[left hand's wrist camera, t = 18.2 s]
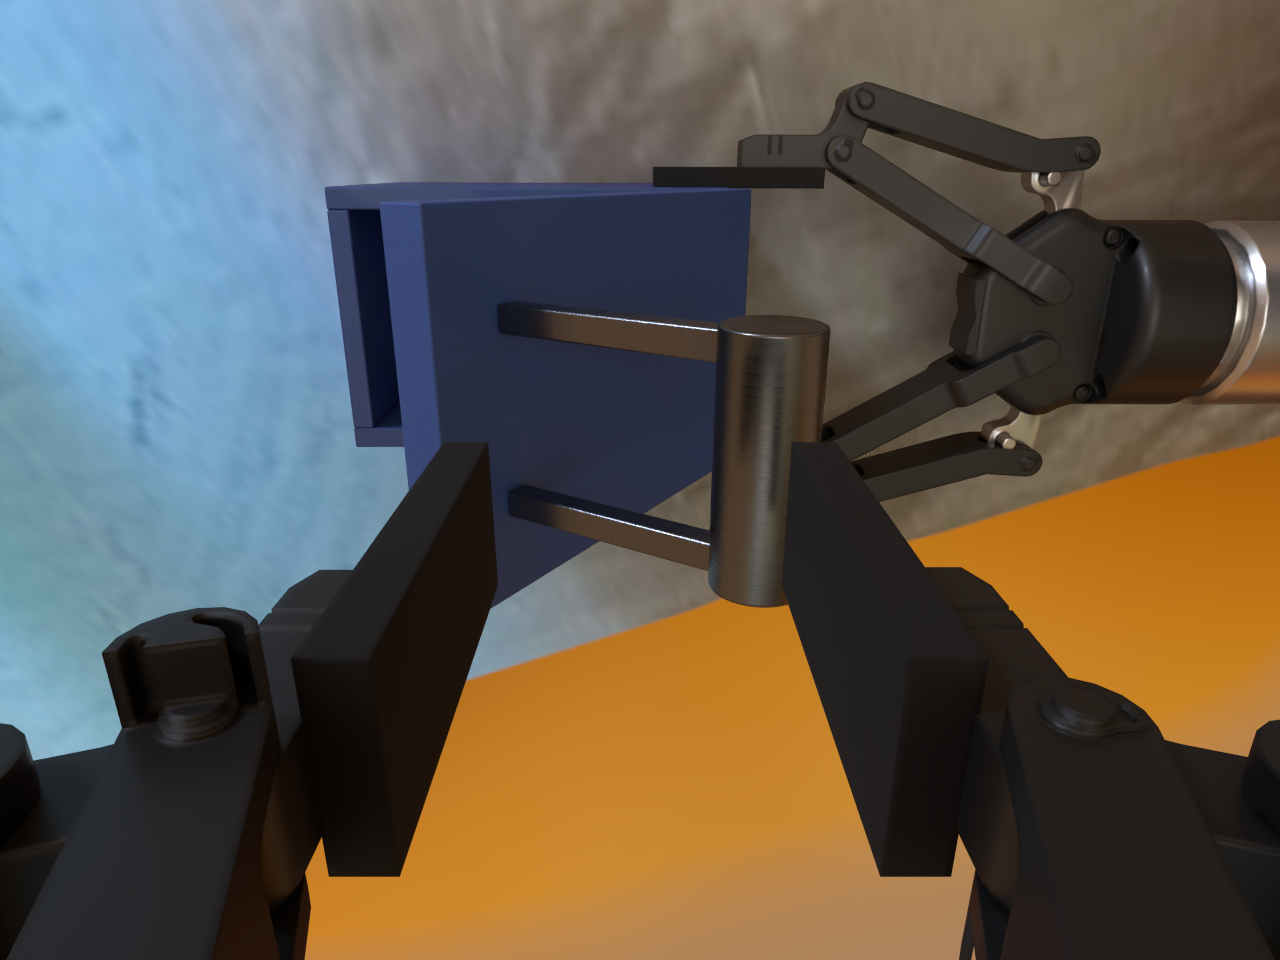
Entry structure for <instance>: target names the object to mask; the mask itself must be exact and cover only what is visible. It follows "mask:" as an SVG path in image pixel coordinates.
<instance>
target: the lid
mask: <svg viewBox="0 0 1280 960" xmlns="http://www.w3.org/2000/svg"><path fill="white" fill-rule="evenodd" d="M750 206H751V189H723V188H721V189H695V190H669V191H643V192H617V193H591V194H565V195H539V196H513V197H487V198H461V199H435V200H409V201H383V202H381V203H380V213H381V223H382V233H383V242H384V252H385V262H386V272H387V281H388V291H389V301H390V311H391V320H392V330H393V340H394V349H395V359H396V369H397V379H398V388H399V398H400V408H401V418H402V427H403V437H404V447H405V456H406V466H407V476H408V486H409V490H410V489H411V488H412V486H413V485H414V483H415V482H416V481H417V479H418V478H419V476H420V475H421V473H422V472H423V471H424V469H425V468H426V466H427V465H428V464H429V462H430V461H431V459H432V458H433V457H434V455H435V454H436V452H437V451H438V450H439V448H440V447H441V445H442V444H443V442H488V445H489V460H490V474H491V489H492V503H493V518H494V532H495V546H496V561H497V575H498V587H497V590H496V593H495V596H494V599H493V602H492V605H491V608H492V607H494V606H495V605H497V604H499V603H500V602H502V601H504V600H505V599H507V598H508V597H510V596H512V595H513V594H515V593H516V592H518V591H520V590H521V589H523V588H524V587H526V586H528V585H529V584H531V583H533V582H534V581H536V580H537V579H539V578H541V577H542V576H544V575H545V574H547V573H549V572H550V571H552V570H553V569H555V568H557V567H558V566H560V565H562V564H563V563H565V562H566V561H568V560H570V559H571V558H573V557H574V556H576V555H578V554H579V553H581V552H582V551H584V550H586V549H587V548H589V547H591V546H592V545H594V544H595V543H597V542H599V541H602V542H606V543H610V544H613V545H617V546H620V547H624V548H628V549H631V550H635V551H638V552H642V553H645V554H649V555H653V556H656V557H660V558H663V559H667V560H671V561H674V562H678V563H681V564H685V565H689V566H692V567H696V568H699V569H703V570H707V571H708V582H709V585H710V587H711V589H712V590H713V591H714V592H715V593H716V594H717V595H719V596H720V597H722V598H724V599H726V600H728V601H730V602H733V603H736V604H740V605H745V606H750V607H762V608H766V607H779V606H784V605H788V602H787V599H786V596H785V593H784V590H783V587H782V575H783V561H784V546H785V532H786V518H787V503H788V489H789V474H790V460H791V445H792V442H821V434H822V423H823V411H824V399H825V387H826V376H827V364H828V352H829V340H830V327H829V326H828V325H827V324H825V323H823V322H820V321H817V320H813V319H808V318H801V317H793V316H778V315H753V316H745V310H746V289H747V268H748V248H749V227H750ZM711 471H712V487H711V515H710V531H709V530H705V529H701V528H697V527H693V526H689V525H685V524H681V523H677V522H673V521H669V520H665V519H661V518H657V517H653V516H649V515H645V514H644V513H645V512H647V511H649V510H650V509H652V508H653V507H655V506H657V505H658V504H660V503H661V502H663V501H665V500H666V499H668V498H669V497H671V496H673V495H674V494H676V493H678V492H679V491H681V490H682V489H684V488H686V487H687V486H689V485H690V484H692V483H694V482H695V481H697V480H698V479H700V478H702V477H703V476H705V475H706V474H708V473H710V472H711ZM491 608H490V609H491Z"/></svg>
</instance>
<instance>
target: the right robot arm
mask: <svg viewBox="0 0 1280 960" xmlns="http://www.w3.org/2000/svg"><path fill="white" fill-rule="evenodd" d="M867 128H870V129H873V130H876V131H879V132H882V133H885V134H888V135H891V136H894V137H898V138H901V139H904V140H907V141H910V142H913V143H916V144H919V145H922V146H925V147H928V148H931V149H934V150H937V151H940V152H943V153H946V154H949V155H952V156H955V157H958V158H962V159H965V160H968V161H971V162H974V163H977V164H980V165H983V166H986V167H989V168H992V169H996V170H1000V171H1007V172H1021V184H1022V187H1023V188H1024V189H1025V190H1026V191H1027V192H1030V193H1034V194H1037V195H1039V196H1040V197H1041V198H1042V199H1043V201H1044V205H1045V210H1043V211H1041V212H1039V213H1038V214H1036V215H1035V216H1033V217H1032V218H1030V219H1029V220H1028V221H1026V222H1025V223H1023V224H1022V225H1020V226H1019V227H1017V228H1016V229H1014V230H1013V231H1011V232H1010V233H1008V234H1007V235H1003V234H1002V233H1000V232H999V231H997V230H996V229H994V228H992V227H990V226H988V225H986V224H984V223H982V222H980V221H979V220H977V219H976V218H974V217H973V216H971V215H969V214H968V213H966V212H965V211H963V210H962V209H960V208H959V207H957V206H956V205H954V204H953V203H951V202H950V201H948V200H947V199H945V198H944V197H942V196H941V195H939V194H938V193H936V192H935V191H933V190H932V189H930V188H929V187H927V186H926V185H924V184H923V183H921V182H920V181H918V180H917V179H915V178H914V177H912V176H910V175H909V174H907V173H906V172H904V171H903V170H901V169H900V168H898V167H897V166H895V165H894V164H892V163H891V162H889V161H888V160H886V159H885V158H883V157H882V156H880V155H879V154H877V153H876V152H874V151H873V150H871V149H870V148H868V147H867V146H865V145H864V144H862V143H861V142H862V140H863V137H864V135H865V133H866V130H867ZM1099 156H1100V145H1099V143H1098V141H1097V140H1096V139H1094V138H1093V137H1087V136H1085V137H1070V138H1055V139H1039V138H1036V137H1033V136H1030V135H1027V134H1024V133H1021V132H1018V131H1015V130H1012V129H1009V128H1006V127H1003V126H1000V125H997V124H994V123H991V122H988V121H985V120H982V119H979V118H976V117H973V116H970V115H967V114H964V113H961V112H958V111H955V110H952V109H949V108H946V107H943V106H940V105H937V104H934V103H931V102H928V101H925V100H922V99H919V98H916V97H913V96H910V95H907V94H904V93H901V92H898V91H895V90H892V89H889V88H886V87H883V86H880V85H877V84H874V83H870V82H864V83H861V84H858V85H855V86H852V87H850V88H848V89H845V90H843V91H842V92H841V93H840V94H839V96H838V97H837V99H836V104H835V110H834V112H833V114H832V117H831V119H830V122H829V124H828V125H827V127H826V128H825V129H824V130H823V131H822V132H821V133H819V134H817V135H753V136H750V137H748V138H745V139H743V140H740V141H738V156H737V167H653V187H728V188H824V176H825V169H826V170H827V171H829V172H830V173H832V174H834V175H835V176H837V177H838V178H840V179H841V180H843V181H844V182H846V183H847V184H849V185H850V186H852V187H854V188H855V189H857V190H858V191H860V192H861V193H863V194H864V195H866V196H867V197H869V198H871V199H872V200H874V201H875V202H877V203H878V204H880V205H881V206H883V207H884V208H886V209H888V210H889V211H891V212H892V213H894V214H895V215H897V216H898V217H900V218H901V219H903V220H904V221H906V222H908V223H909V224H911V225H912V226H914V227H915V228H917V229H918V230H920V231H921V232H923V233H925V234H926V235H928V236H929V237H931V238H932V239H934V240H935V241H937V242H938V243H940V244H941V245H943V247H944V248H946V249H947V250H948V251H950V252H952V253H953V254H955V255H956V256H958V257H959V258H961V259H962V260H964V261H965V262H967V263H968V265H967V267H966V269H965V271H964V273H959V275H958V282H957V290H956V293H957V301H958V313H957V315H956V318H955V320H954V323H953V325H952V328H951V334H950V341H949V346H951V347H952V348H953V350H954V351H953V352H951V353H949V354H947V355H945V356H943V357H941V358H939V359H938V360H936V361H934V362H932V363H931V364H930V365H929V366H928V368H927V369H926V370H925V371H923V372H921V373H919V374H917V375H916V376H914V377H912V378H910V379H908V380H906V381H904V382H902V383H900V384H898V385H897V386H895V387H893V388H891V389H889V390H887V391H885V392H883V393H881V394H879V395H878V396H876V397H874V398H872V399H870V400H868V401H866V402H864V403H862V404H860V405H859V406H857V407H855V408H853V409H851V410H849V411H847V412H845V413H843V414H841V415H840V416H838V417H836V418H834V419H832V420H830V421H828V422H826V423H824V424H822V434H821V442H837V444H838V445H839V447H840V448H841V450H842V451H843V452H844V454H845V455H846V457H847V458H848V459H849V461H852V460H854V459H856V458H858V457H860V456H862V455H864V454H866V453H868V452H870V451H871V450H873V449H875V448H877V447H879V446H881V445H883V444H885V443H887V442H889V441H891V440H893V439H895V438H897V437H899V436H901V435H903V434H905V433H907V432H908V431H910V430H912V429H914V428H916V427H918V426H920V425H922V424H924V423H926V422H928V421H930V420H932V419H934V418H936V417H938V416H940V415H942V414H944V413H945V412H947V411H949V410H951V409H954V408H956V407H965V406H969V405H971V404H974V403H976V402H978V401H980V400H981V399H983V398H985V397H987V396H989V395H991V394H993V393H996V394H997V395H998V396H1000V397H1001V398H1002V399H1003V400H1005V401H1006V402H1007V403H1008V404H1010V405H1011V408H1010V411H1009V412H1008V414H1007V415H1006V416H1005V417H1003V418H1001V419H998V420H993V421H990V422H987V423H985V424H984V425H983V426H982V431H981V432H965V433H959V434H954V435H950V436H946V437H942V438H939V439H935V440H931V441H927V442H923V443H920V444H916V445H912V446H908V447H905V448H901V449H897V450H893V451H889V452H886V453H882V454H878V455H874V456H870V457H867V458H863V459H859V460H855V461H852V462H851V464H852V465H853V466H854V468H855V469H856V471H857V472H858V473H859V475H860V476H861V478H862V479H863V481H864V482H865V483H866V485H867V486H868V488H869V489H870V490H871V492H872V493H873V495H874V496H875V497H876V499H877V500H878V502H881V501H885V500H888V499H892V498H896V497H900V496H904V495H908V494H912V493H915V492H919V491H923V490H927V489H931V488H935V487H939V486H943V485H946V484H950V483H954V482H958V481H962V480H966V479H970V478H973V477H977V476H981V475H985V474H995V475H1010V476H1031V475H1033V474H1035V473H1036V472H1037V471H1038V470H1039V469H1040V468H1041V465H1042V458H1041V455H1040V454H1039V453H1038V452H1036V451H1035V450H1034V444H1035V440H1036V436H1037V432H1038V428H1039V424H1040V420H1041V416H1042V414H1046V413H1048V412H1050V411H1052V410H1054V409H1056V408H1059V407H1061V406H1064V405H1068V404H1171V403H1175V402H1178V401H1180V402H1183V403H1185V404H1196V405H1205V404H1280V221H1240V220H1221V221H1209V222H1207V223H1204V224H1202V223H1200V222H1197V221H1192V220H1098V219H1095V218H1093V217H1091V216H1090V215H1088V214H1087V213H1085V212H1084V211H1082V210H1080V203H1081V195H1082V186H1083V178H1084V170H1086V169H1089V168H1090V167H1092V166H1093V165H1094V164H1095V163H1096V162H1097V160H1098V159H1099Z"/></svg>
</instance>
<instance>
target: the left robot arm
mask: <svg viewBox="0 0 1280 960" xmlns="http://www.w3.org/2000/svg"><path fill="white" fill-rule="evenodd" d="M497 587H498V575H497V561H496V546H495V532H494V518H493V503H492V489H491V474H490V460H489V445H488V442H443V444H442V445H441V447H440V448H439V450H438V451H437V452H436V454H435V455H434V457H433V458H432V459H431V461H430V462H429V464H428V465H427V466H426V468H425V469H424V471H423V472H422V473H421V475H420V476H419V478H418V479H417V481H416V482H415V483H414V485H413V486H412V488H411V489H410V490H409V492H408V493H407V495H406V496H405V497H404V499H403V500H402V502H401V503H400V505H399V506H398V507H397V509H396V510H395V512H394V513H393V514H392V516H391V517H390V519H389V520H388V521H387V523H386V524H385V526H384V527H383V529H382V530H381V531H380V533H379V534H378V536H377V537H376V538H375V540H374V541H373V543H372V544H371V545H370V547H369V548H368V550H367V551H366V553H365V554H364V555H363V557H362V558H361V560H360V561H359V562H358V564H357V565H356V567H355V568H354V569H353V570H319V571H317V572H315V573H314V574H312V575H310V576H309V577H307V578H305V579H304V580H302V581H300V582H299V583H297V584H295V585H294V586H292V587H290V588H289V589H288V590H287V591H286V593H285V594H284V595H283V596H282V597H281V599H280V600H279V601H278V602H277V603H276V605H275V606H274V607H273V608H272V613H268V614H267V616H266V617H265V618H264V619H263V620H262V622H261V623H260V624H259V625H258V622H257V620H256V619H255V618H253V617H252V616H251V615H249V614H248V613H247V612H245V611H240V610H235V609H230V608H226V607H218V608H196V609H191V610H186V611H181V612H176V613H171V614H167V615H164V616H162V617H159V618H156V619H153V620H150V621H148V622H145V623H142V624H140V625H138V626H136V627H134V628H133V629H131V630H129V631H127V632H126V633H124V634H122V635H121V636H119V637H117V638H116V639H115V640H114V641H113V642H112V643H111V644H110V645H109V646H108V647H107V648H106V649H105V650H104V651H103V652H102V656H103V659H104V663H105V667H106V671H107V674H108V678H109V682H110V685H111V689H112V693H113V696H114V700H115V704H116V707H117V711H118V715H119V718H120V722H121V726H122V729H121V731H120V733H119V735H118V737H117V739H116V741H115V743H114V744H112V745H108V746H105V747H101V748H96V749H91V750H86V751H81V752H76V753H70V754H65V755H60V756H55V757H50V758H45V759H40V760H35V761H33V759H32V756H31V753H30V749H29V746H28V743H27V740H26V737H25V734H23V733H22V732H21V731H19V730H18V729H17V728H15V727H14V726H13V725H9V724H1V723H0V960H304V959H305V950H306V943H307V934H308V926H309V919H310V911H311V905H310V898H309V891H308V885H307V880H306V875H305V871H306V869H307V867H308V865H309V863H310V860H311V858H312V856H313V854H314V852H315V850H316V848H317V846H318V844H319V841H320V839H321V837H322V840H323V845H324V851H325V857H326V863H327V868H328V874H329V877H399V876H400V874H401V871H402V868H403V865H404V862H405V859H406V856H407V853H408V850H409V847H410V844H411V842H412V839H413V835H414V833H415V830H416V827H417V824H418V821H419V818H420V815H421V812H422V809H423V806H424V803H425V800H426V797H427V794H428V791H429V788H430V785H431V782H432V779H433V776H434V773H435V770H436V767H437V765H438V761H439V758H440V756H441V753H442V750H443V747H444V744H445V741H446V738H447V735H448V732H449V729H450V726H451V723H452V720H453V717H454V714H455V711H456V708H457V705H458V702H459V699H460V696H461V694H462V691H463V688H464V685H465V682H466V679H467V676H468V673H469V670H470V667H471V664H472V661H473V658H474V655H475V652H476V649H477V646H478V643H479V640H480V637H481V634H482V631H483V628H484V625H485V622H486V620H487V617H488V614H489V611H490V608H491V605H492V602H493V599H494V596H495V593H496V590H497ZM782 587H783V590H784V593H785V596H786V599H787V602H788V605H789V608H790V611H791V614H792V617H793V619H794V622H795V625H796V628H797V631H798V634H799V637H800V640H801V643H802V646H803V649H804V652H805V655H806V658H807V661H808V664H809V667H810V670H811V673H812V676H813V679H814V682H815V685H816V688H817V690H818V694H819V696H820V699H821V702H822V705H823V708H824V711H825V714H826V717H827V720H828V723H829V726H830V729H831V732H832V735H833V738H834V741H835V744H836V747H837V750H838V753H839V756H840V759H841V762H842V764H843V768H844V770H845V773H846V776H847V779H848V782H849V785H850V788H851V791H852V794H853V797H854V800H855V803H856V806H857V809H858V812H859V815H860V818H861V821H862V824H863V827H864V830H865V833H866V836H867V839H868V842H869V844H870V847H871V850H872V853H873V856H874V859H875V862H876V865H877V868H878V871H879V874H880V876H881V877H951V874H952V868H953V863H954V857H955V851H956V846H957V840H958V834H959V835H960V837H961V839H962V841H963V844H964V846H965V848H966V850H967V852H968V854H969V856H970V858H971V860H972V862H973V864H974V867H975V869H976V870H975V875H974V880H973V885H972V891H971V896H970V901H969V906H968V912H967V917H966V922H965V928H964V933H963V938H962V943H961V950H960V957H959V960H971V957H972V952H973V947H974V949H975V957H976V960H1280V720H1274V721H1269V722H1267V723H1266V724H1265V725H1263V726H1262V727H1261V728H1259V729H1258V730H1257V731H1256V734H1255V737H1254V740H1253V743H1252V746H1251V749H1250V753H1249V756H1248V757H1244V756H1239V755H1234V754H1229V753H1224V752H1219V751H1213V750H1208V749H1203V748H1198V747H1193V746H1188V745H1183V744H1179V743H1175V742H1171V741H1167V740H1164V738H1163V736H1162V734H1161V732H1160V730H1159V728H1158V726H1157V725H1156V724H1155V723H1154V722H1153V720H1152V719H1151V718H1150V717H1149V715H1148V714H1147V713H1146V712H1145V711H1144V710H1143V709H1142V708H1140V707H1139V706H1137V705H1136V704H1134V703H1133V702H1131V701H1130V700H1128V699H1127V698H1125V697H1124V696H1122V695H1120V694H1118V693H1116V692H1113V691H1111V690H1108V689H1106V688H1104V687H1101V686H1099V685H1097V684H1094V683H1089V682H1085V681H1081V680H1076V679H1072V678H1068V677H1067V675H1066V674H1065V673H1064V672H1063V671H1062V669H1061V668H1060V667H1059V666H1058V665H1057V663H1056V662H1055V661H1054V660H1053V659H1052V657H1051V656H1050V655H1049V654H1048V653H1047V651H1046V650H1045V649H1044V648H1043V647H1042V645H1041V644H1040V643H1039V642H1038V641H1037V640H1036V638H1035V637H1034V636H1033V635H1032V633H1031V632H1030V631H1029V630H1028V629H1027V628H1024V627H1023V623H1022V622H1021V620H1020V619H1019V618H1018V617H1017V616H1016V614H1015V613H1014V612H1013V611H1012V610H1009V606H1008V605H1007V604H1006V602H1005V601H1004V600H1003V599H1002V598H1001V596H1000V595H999V594H998V593H997V592H996V590H995V589H994V588H993V587H992V586H991V585H990V584H988V583H986V582H985V581H983V580H982V579H980V578H978V577H976V576H975V575H973V574H971V573H970V572H968V571H966V570H965V569H963V568H961V567H924V565H923V564H922V562H921V561H920V560H919V558H918V557H917V555H916V554H915V553H914V551H913V550H912V548H911V547H910V545H909V544H908V543H907V541H906V540H905V538H904V537H903V536H902V534H901V533H900V531H899V530H898V529H897V527H896V526H895V524H894V523H893V521H892V520H891V519H890V517H889V516H888V514H887V513H886V512H885V510H884V509H883V507H882V506H881V505H880V503H879V502H878V500H877V499H876V497H875V496H874V495H873V493H872V492H871V490H870V489H869V488H868V486H867V485H866V483H865V482H864V481H863V479H862V478H861V476H860V475H859V473H858V472H857V471H856V469H855V468H854V466H853V465H852V464H851V462H850V461H849V459H848V458H847V457H846V455H845V454H844V452H843V451H842V450H841V448H840V447H839V445H838V444H837V442H792V445H791V460H790V474H789V489H788V503H787V518H786V532H785V546H784V561H783V575H782Z"/></svg>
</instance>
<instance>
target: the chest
mask: <svg viewBox="0 0 1280 960" xmlns="http://www.w3.org/2000/svg"><path fill="white" fill-rule="evenodd" d="M721 188H723V189H732V188H728V187H653V183H402V182H397V183H381V184H364V185H348V186H332V187H325V196H326V204H327V208H328V209H329V210H328V212H327V213H328V221H329V229H330V237H331V245H332V253H333V261H334V269H335V277H336V285H337V293H338V301H339V309H340V317H341V325H342V333H343V341H344V349H345V357H346V365H347V373H348V381H349V389H350V397H351V405H352V414H353V422H354V427H355V428H354V431H355V439H356V446H357V447H404V437H403V427H402V418H401V408H400V398H399V388H398V379H397V369H396V359H395V349H394V340H393V330H392V320H391V311H390V301H389V291H388V281H387V272H386V262H385V252H384V242H383V233H382V223H381V213H380V203H381V202H383V201H409V200H435V199H461V198H487V197H513V196H539V195H565V194H591V193H617V192H643V191H669V190H695V189H721Z"/></svg>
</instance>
